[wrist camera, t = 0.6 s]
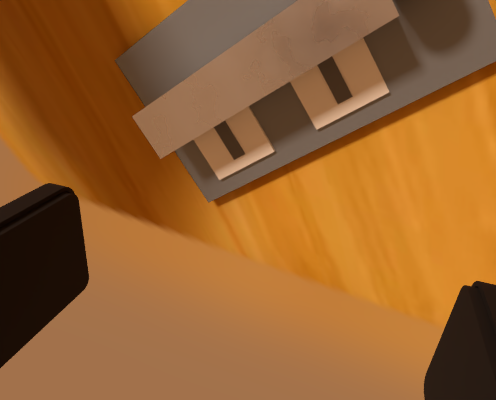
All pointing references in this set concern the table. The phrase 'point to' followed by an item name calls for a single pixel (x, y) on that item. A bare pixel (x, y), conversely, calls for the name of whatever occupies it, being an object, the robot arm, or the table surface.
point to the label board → (307, 79)
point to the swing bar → (259, 67)
